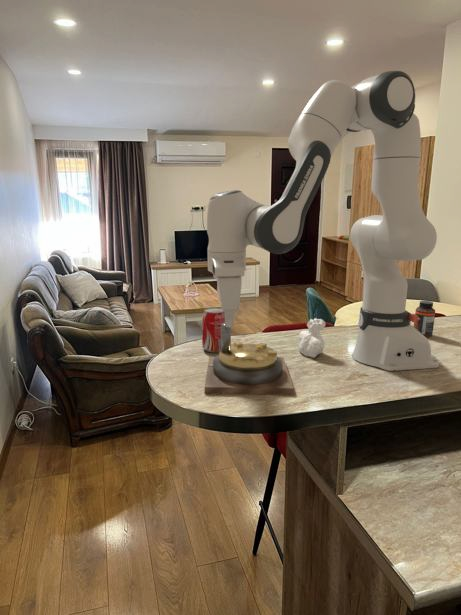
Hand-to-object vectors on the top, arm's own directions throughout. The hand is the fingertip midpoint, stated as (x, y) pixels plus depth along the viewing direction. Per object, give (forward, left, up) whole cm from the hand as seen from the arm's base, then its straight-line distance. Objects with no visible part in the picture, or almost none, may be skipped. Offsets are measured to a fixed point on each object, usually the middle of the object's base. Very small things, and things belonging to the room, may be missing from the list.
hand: (227, 320), depth 104 cm
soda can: (+4, -20, -15) cm, 25 cm away
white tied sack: (-24, -18, -15) cm, 34 cm away
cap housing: (-5, 0, -14) cm, 15 cm away
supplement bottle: (-64, -37, -15) cm, 76 cm away
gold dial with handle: (-5, 0, -10) cm, 11 cm away
